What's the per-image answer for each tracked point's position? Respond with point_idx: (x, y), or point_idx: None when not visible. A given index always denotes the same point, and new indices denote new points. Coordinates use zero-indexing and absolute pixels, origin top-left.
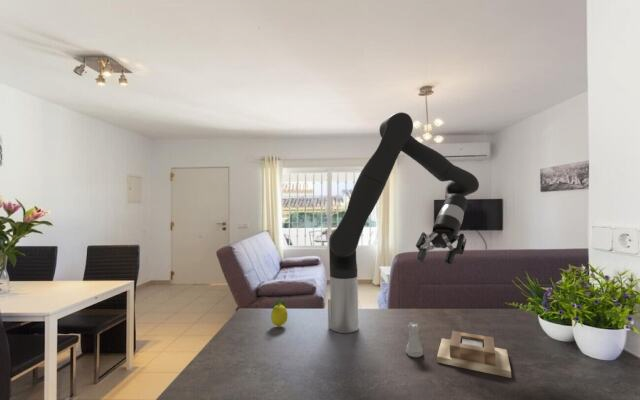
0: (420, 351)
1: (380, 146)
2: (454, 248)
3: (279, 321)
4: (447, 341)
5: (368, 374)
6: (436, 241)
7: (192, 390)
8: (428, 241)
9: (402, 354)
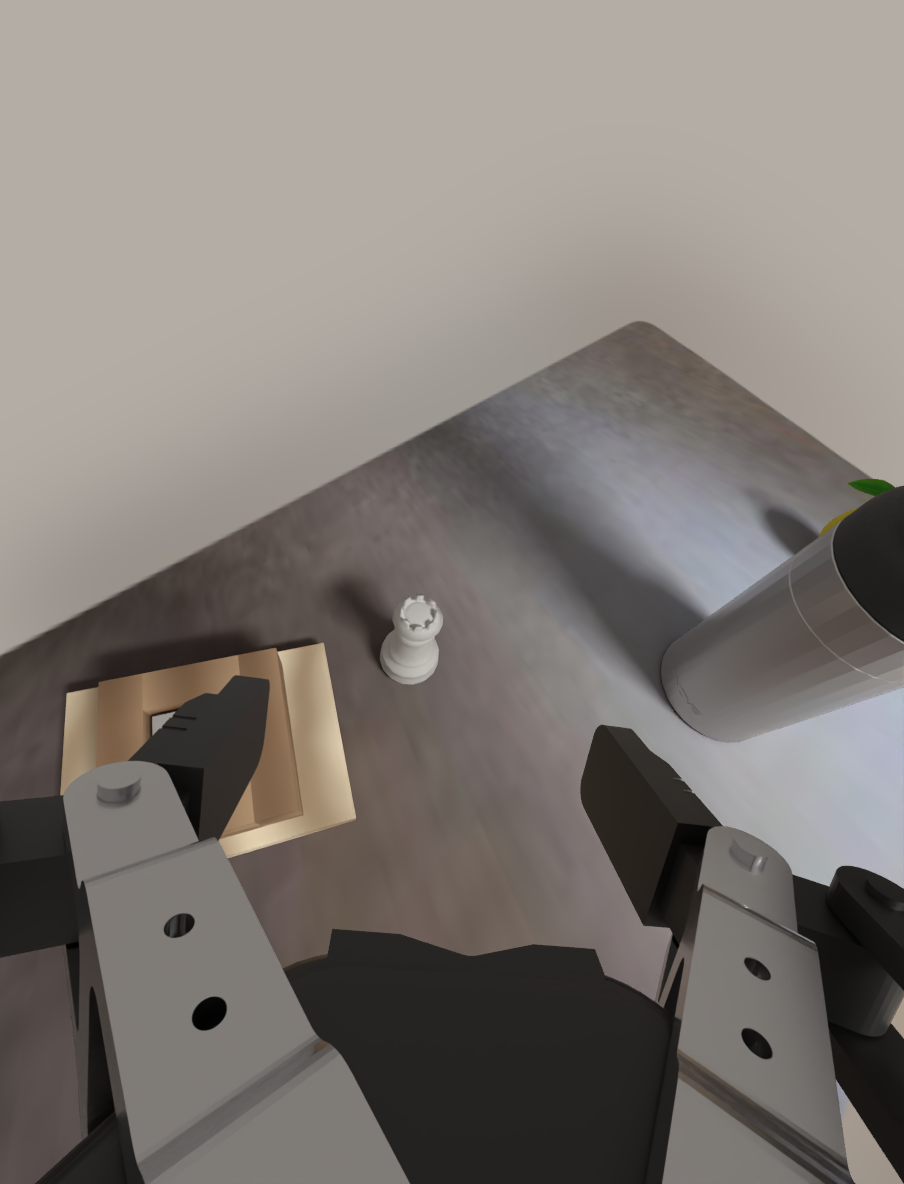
0: (383, 643)
1: None
2: (44, 852)
3: (823, 529)
4: (324, 797)
5: (450, 495)
6: (549, 1011)
7: (632, 332)
8: (729, 925)
9: None
